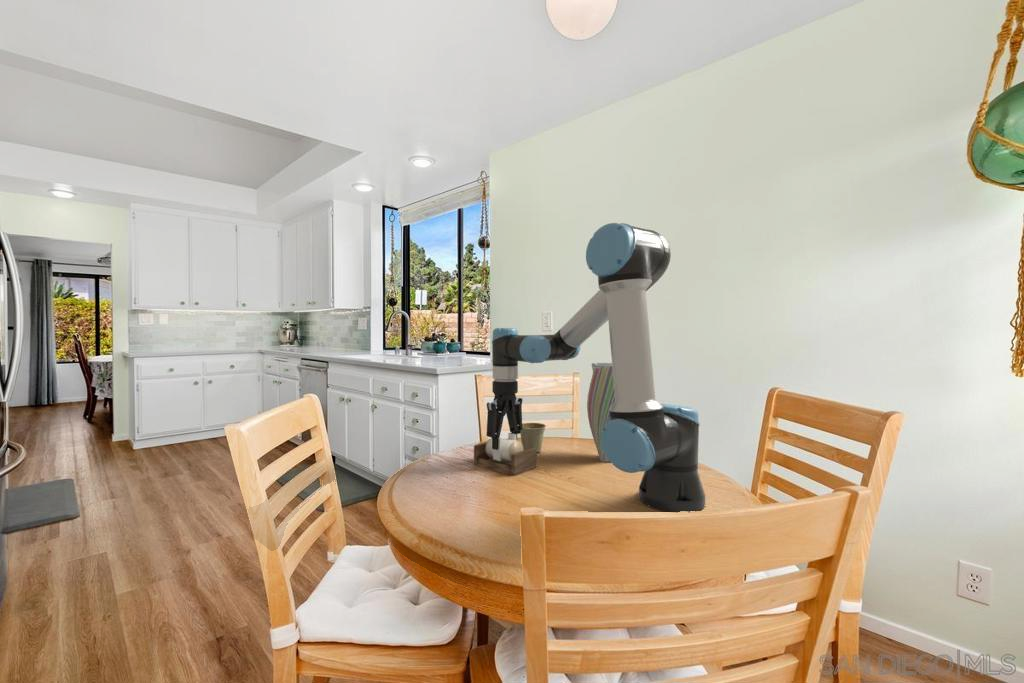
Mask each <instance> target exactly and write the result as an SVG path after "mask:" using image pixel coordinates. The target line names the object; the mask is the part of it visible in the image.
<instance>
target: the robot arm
mask: <svg viewBox="0 0 1024 683" xmlns="http://www.w3.org/2000/svg"><path fill="white" fill-rule="evenodd" d="M585 261H586V265H587V267H588V269H589V270H590V271H591V273H592V274H594V275H595V276H597V281H598V283H597V284H598V289H599V290H598V291H597V292H596V293H595V294H594V295H593V296H592V297H591V298H589V300H588V301H586V303H585V304H584V305H583V306H582V307H580V309H579V310H578V311H577V312H576V313H575V314H574V315H573V316H572V317H571V318H570V319H569V320H568V321H567V322H566V323H565V324H563V326H561V328H560V329H559V330H557V331H556V332H555V333H553V334H528V335H527V334H526V335H525V334H521V335H520V334H519V330H518V328H516V327H495V328H494V329H493V331H492V338H491V339H492V341H491V346H492V347H491V348H492V351H491V352H492V354H491V355H492V357H491V358H492V363H491V364H492V379H493V381H492V383H491V384H492V386H491V387H492V388H491V389H492V390H491V391H492V393H493V394H494V397H493V401H491V402H487V403H486V408H487V409H486V410H487V416H486V417H487V419H486V420H487V421H486V422H487V423H486V436H487V437H489V438H490V439H491V438H492V449H493V459H494V460H498V461H502V439H503V438H501V432H502V427H503V422H504V418H505V416H506V419H507V423H508V427H509V432H507V437H508V438H507V439H508V440H515V441H518V435H521V434H520V432H521V431H520V430H522V423H523V412H522V411H523V410H522V405H523V398H522V397H517V396H516V394H517V393H518V392H519V388H518V387H519V385H518V384H519V383H518V379H519V363H518V362H521V363H522V362H523V363H524V362H525V363H530V364H542V363H544V362H549V361H568V360H569V359H572V360H573V359H574V358H577V357H578V355H579V352H580V351H581V345H583V343H585V342H587V340H588V339H589V338H590V337H592V335H593V334H595V333H596V332H597V331H598V330H599V329H600V328H601V327H602V326H604V325H605V324H606V323H607V322H608V330H609V342H610V354H611V356H610V357H611V363H612V368H613V380H614V391H615V402H614V403H613V405H612V406H611V407H610V408H609V415H610V422H608V423H607V424H606V425H605V428H604V429H603V430H602V433H601V445H602V449H603V451H604V453H605V455H606V457H607V458H608V460H609V461H611V462H610V463H611V464H612V465H613V466H614V467H615V468H616V469H618V470H619V471H622V472H625V473H629V474H631V473H632V474H634V473H635V474H636V473H639V472H641V473H642V472H644V473H643V475H642V478H641V480H640V484H639V486H638V499H639V501H640V502H641V503H643V504H644V505H646V506H648V505H649V506H648V507H650V508H653V509H655V508H656V510H659V511H663V512H669V513H670V512H671V513H678V512H680V511H695V512H698V511H697V510H699V511H701V510H703V509H704V508H705V507H704V505H705V506H706V493H705V490H704V487H703V484H702V481H701V477H700V474H699V434H700V433H699V431H700V430H699V428H700V422H699V412H698V411H697V410H696V409H695V408H693V407H688V406H684V405H683V406H682V405H676V404H667V403H660V402H659V401H658V400H657V399H656V394H655V393H656V392H655V391H656V390H655V382H654V370H653V361H652V360H653V359H652V346H651V337H650V336H651V335H650V325H649V314H648V304H647V303H648V302H647V291H648V290H649V289H651V288H652V287H653V286H654V285H655V284H656V283H657V282H658V281H659V280H660V279H661V278H662V277H663V276H664V274H665V272H666V271H667V269H668V267H669V264H670V262H671V248H670V245H669V242H668V241H667V239H666V238H665V236H663V235H662V234H661V233H659V232H657V231H655V230H651V229H646V228H641V227H637V226H634V225H630V224H628V223H623V222H622V223H618V222H610V223H607V224H605V225H602V226H601V227H599V228H598V229H597V230H596V231H594V233H593V235H592V237H591V238H590V239H589V241H588V243H587V246H586V251H585ZM518 425H519V426H518Z"/></svg>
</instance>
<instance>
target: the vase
mask: <svg viewBox="0 0 1024 683" xmlns="http://www.w3.org/2000/svg"><path fill="white" fill-rule="evenodd" d="M591 368H592V376H591V379H590V383H589V388H588V394H587V399H586V400H587V401H586V402H587V403H586V408H587V410H586V411H587V418H588V425H589V428H590V432H591V436H592V438H593V441H594V444H595V449H596V451H597V454H598V458H599V461H600V462H601V463H612V462H611V461H609V460H608V458H607V457H606V455H605V453H604V451H603V449H602V445H601V433H602V430H603V429H604V428H605V425H606V424H607V423H608V422H610V415H609V408H610V407H611V406H612V405H613V403H614V402H615V391H614V380H613V368H612V362H591Z"/></svg>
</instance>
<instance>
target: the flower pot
mask: <svg viewBox="0 0 1024 683" xmlns="http://www.w3.org/2000/svg"><path fill="white" fill-rule="evenodd" d="M518 426H519V425H518ZM546 428H547V425H546V424H544V423H541V422H524V423H523V422H522V430H520V431H521V432H520V434H519V435H520V439H521V441H520V442H521V443H522V445H523V451H524V450H527V449H530V448H533V447H534V448H537V453H541V452H542V448H543V440H544V432H545V431H546Z"/></svg>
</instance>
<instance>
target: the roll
mask: <svg viewBox="0 0 1024 683" xmlns="http://www.w3.org/2000/svg"><path fill="white" fill-rule="evenodd" d="M486 442H487V444H486V453H487V455H488V456H489V457H491V458H493V449H492V438H491V437H490V438H489V439H488V440H487V441H486ZM521 451H523V445H522V442H521V441H519V440H517V441H515V440H508V438H507V439H506V438H502V460H507V461H511V455H512V454H515V453H518V452H521Z"/></svg>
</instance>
